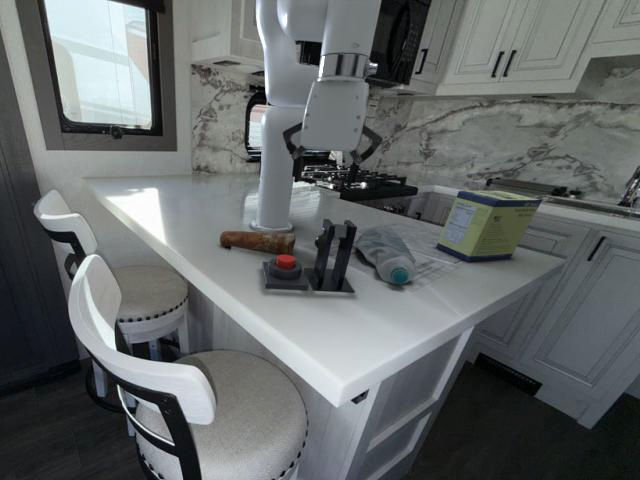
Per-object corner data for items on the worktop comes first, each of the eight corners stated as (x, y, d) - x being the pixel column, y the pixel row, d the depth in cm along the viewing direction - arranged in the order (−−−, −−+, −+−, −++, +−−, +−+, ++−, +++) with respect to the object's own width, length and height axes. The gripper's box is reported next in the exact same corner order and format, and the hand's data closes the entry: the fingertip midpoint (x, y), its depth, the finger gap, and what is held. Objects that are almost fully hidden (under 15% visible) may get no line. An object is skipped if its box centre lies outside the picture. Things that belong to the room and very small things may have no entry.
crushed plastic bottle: (350, 246, 82) (357, 286, 61) (359, 220, 79) (369, 253, 57) (401, 257, 80) (425, 302, 59) (412, 231, 77) (443, 269, 55)
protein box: (511, 258, 81) (544, 199, 73) (467, 262, 77) (497, 199, 69) (475, 244, 90) (501, 190, 82) (434, 247, 86) (457, 190, 78)
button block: (261, 270, 66) (263, 253, 64) (298, 272, 67) (301, 255, 65) (265, 293, 58) (267, 274, 56) (306, 295, 58) (310, 276, 56)
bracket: (302, 272, 67) (312, 214, 60) (338, 274, 67) (352, 216, 60) (311, 295, 58) (325, 230, 52) (353, 297, 58) (371, 232, 52)
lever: (312, 250, 69) (313, 236, 68) (326, 251, 69) (327, 236, 69) (331, 239, 56) (332, 221, 56) (348, 239, 56) (349, 222, 56)
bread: (291, 261, 72) (294, 238, 69) (216, 248, 77) (216, 226, 74) (295, 252, 77) (299, 230, 74) (225, 240, 82) (226, 219, 79)
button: (275, 262, 62) (276, 254, 61) (292, 262, 62) (293, 254, 61) (276, 269, 59) (278, 261, 58) (295, 270, 59) (296, 262, 58)
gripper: (398, 76, 50) (370, 187, 58) (294, 76, 55) (283, 177, 63) (401, 68, 44) (369, 193, 52) (284, 68, 49) (272, 181, 57)
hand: (322, 184), depth 58 cm, fingers open, 9 cm apart
